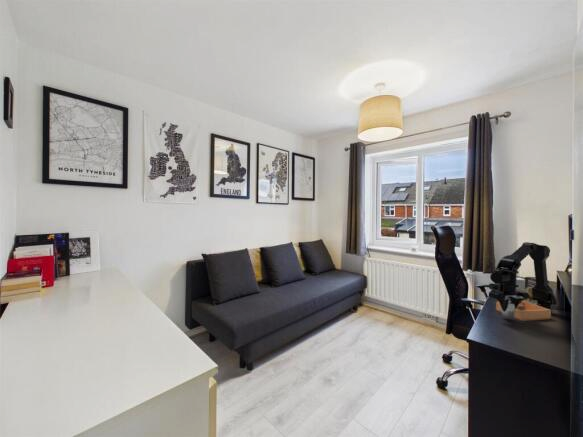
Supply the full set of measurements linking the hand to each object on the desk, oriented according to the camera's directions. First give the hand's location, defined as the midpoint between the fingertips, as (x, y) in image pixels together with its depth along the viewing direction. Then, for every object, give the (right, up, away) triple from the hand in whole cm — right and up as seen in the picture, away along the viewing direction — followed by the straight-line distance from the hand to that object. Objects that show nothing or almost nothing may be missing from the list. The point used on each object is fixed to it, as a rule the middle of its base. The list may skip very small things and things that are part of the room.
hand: (508, 310), depth 130 cm
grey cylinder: (0, -3, 0) cm, 3 cm away
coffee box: (+38, -5, +23) cm, 45 cm away
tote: (+14, -5, +7) cm, 17 cm away
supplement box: (+39, -5, +37) cm, 53 cm away
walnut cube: (+10, -4, +7) cm, 13 cm away
